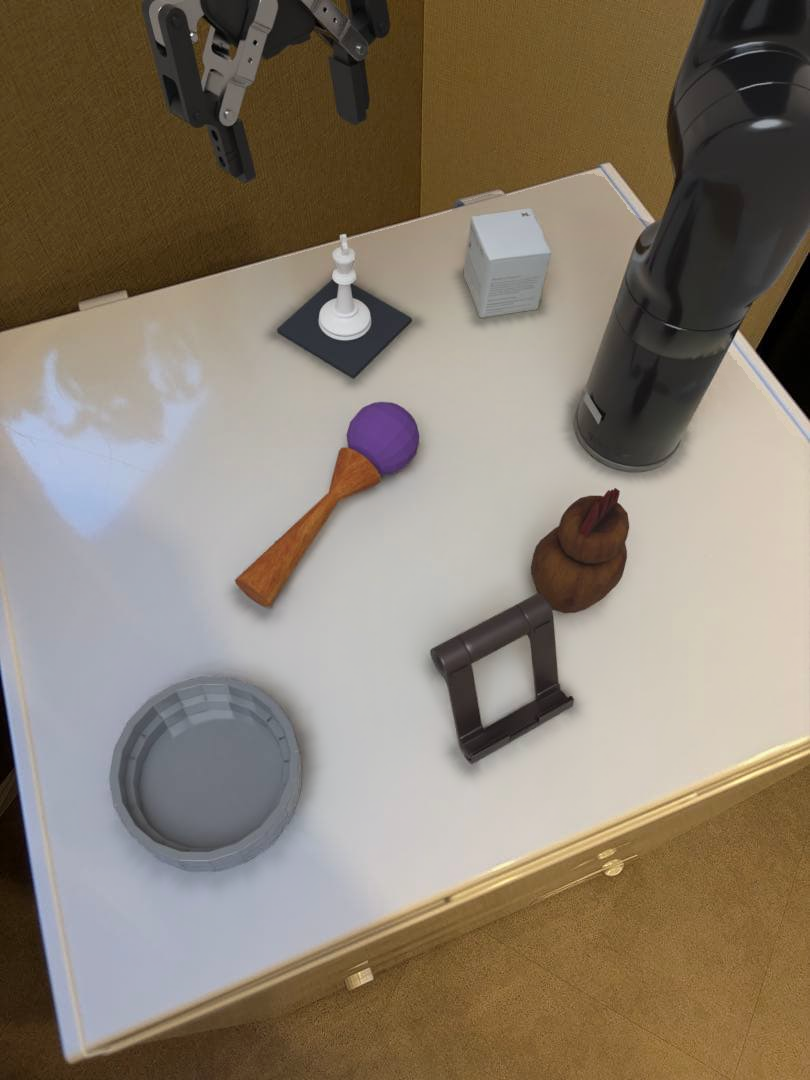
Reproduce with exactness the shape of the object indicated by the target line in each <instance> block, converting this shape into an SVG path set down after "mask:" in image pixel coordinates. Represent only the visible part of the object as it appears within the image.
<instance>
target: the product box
mask: <svg viewBox="0 0 810 1080" xmlns="http://www.w3.org/2000/svg"><path fill="white" fill-rule="evenodd" d="M469 226H470V227H469V232H468V239H467V246H466V253H465V254H466V255H465V259H464V268H463V278H464V280H465V282H466V284H467V286H468V290H469V292H470V294H471V297H472V300H473V302H474V305H475V309H476V312H477V315H478V317H479V318H480V319H484V318H485V319H486V318H492V317H497V316H503V315H508V314H510V315H511V314H514V313H521V312H529V311H535V310H538V309H539V304H540V301H541V296H542V292H543V289H544V285H545V281H546V277H547V274H548V270H549V266H550V261H551V258H552V255H553V252H552V250H551V247H550V245H549V243H548V241H547V239H546V236H545V234H544V231H543V228H542V226H541V225H540V224H539V221H538V218H537V216H536V215H535V212H534V210H533V209H532V208H531V207H529V208H522V209H516V210H515V209H514V210H509V211H508V210H507V211H501V212H494V213H486V214H478V215H473V216H471V218H470V225H469Z"/></svg>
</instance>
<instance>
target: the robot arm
mask: <svg viewBox="0 0 810 1080" xmlns="http://www.w3.org/2000/svg"><path fill="white" fill-rule="evenodd" d="M345 4H346V9H347V14H348V16H347V15H346V14H345V13H344V11H342V10H341V8H339V7H338V6H337V4H336V3H335V2H334V1H333V0H142V2H141V14H142V17H143V21H144V26H145V29H146V33H147V37H148V41H149V44H150V49H151V52H152V57H153V60H154V64H155V68H156V73H157V76H158V80H159V84H160V88H161V91H162V95H163V99H164V103H165V107H166V109H167V111H168V112H169V113H170V114H172V115H173V116H175V117H177V118H179V119H180V120H182V121H183V122H185V123H186V124H188V125H190V126H191V127H193V128H194V129H201V128H203V127H204V126H205V125H206V129H207V132H208V136H209V140H210V143H211V147H212V150H213V153H214V157H215V160H216V163H217V165H218V166H219V168H220V169H221V170H222V171H224V172H225V173H227V174H228V175H230V176H231V177H233V178H234V179H236V180H238V181H240V182H241V183H242V184H245V185H246V184H248V183H250V182H251V181H254V180H255V179H256V178H257V172H256V170H255V164H254V162H253V158H252V157H253V156H252V154H251V150H250V146H249V145H250V144H249V141H248V137H247V133H246V129H245V125H244V122H243V120H242V119H240V118H238V117H239V114H240V111H241V107H242V104H243V101H244V97H245V94H246V90H247V88H248V87H250V86H251V85H253V84H254V81H255V78H256V75H257V72H258V69H259V66H260V62H261V59H262V60H265V61H268V60H270V59H272V58H274V57H276V56H278V55H279V54H280V53H281V52H282V51H283V50H285V49H286V48H287V47H288V46H296V45H301V44H303V43H305V42H307V41H309V40H311V33H312V32H314V33H315V34H316V35H317V36H318V37H319V38H320V39H321V40H322V41H323V42H324V43H325V44H326V45H327V46H328V47H329V48H330V49H332V51H333V53H332V54H331V55H328V56H327V59H328V66H329V70H330V77H331V78H330V79H331V84H332V90H333V95H334V102H335V107H336V112H337V114H338V116H339V117H340V118H341V120H344V121H346V122H348V123H349V124H351V125H353V126H358V125H361V124H362V123H364V122H366V121H367V117H368V116H367V110H368V109H369V107H370V100H371V98H370V91H369V84H368V75H367V67H366V61H365V59H366V57H367V55H368V53H369V46H371V44H372V43H373V42H374V41H375V40H376V39H377V38H378V39H384V38H385V37H387V36H388V34H389V32H390V29H391V19H390V13H389V7H388V0H345ZM201 18H202V19H203V20H205V22H207V23H208V24H209V25H210V27H209V29H208V30H209V31H208V34H207V38H206V40H205V41H206V42H205V44H204V45H205V46H204V48H203V53H202V63H203V66H204V70H203V73H202V77H201V76H200V71H199V66H198V61H197V57H196V54H195V53H196V52H195V50H194V44H196V43H197V42H198V41H199V34H198V24H199V21H200V19H201ZM231 46H233V47H234V48H235V49H236V52H235V56H234V58H233V59H231V57H230V49H231ZM666 115H667V116H666V135H667V145H668V152H669V158H670V163H671V171H672V176H673V185H672V189H671V193H670V196H669V199H668V201H667V204H666V207H665V209H664V212H663V214H662V217H661V218H659V219H657V220H655V221H653V222H652V223H650V224H649V225H648V226H646V227H645V228H644V229H643V230H642V231H641V233H640V234H639V236H638V237H637V239H636V241H635V243H634V245H633V248H632V250H631V253H630V256H629V258H628V261H627V265H626V268H625V271H624V274H623V277H622V280H621V282H620V286H619V289H618V291H617V295H616V298H615V301H614V304H613V307H612V310H611V313H610V316H609V317H608V321H607V324H606V327H605V330H604V333H603V336H602V337H601V338H602V339H601V342H600V345H599V346H598V350H597V354H596V356H595V359H594V362H593V365H592V368H591V370H590V373H589V377H588V379H587V382H586V384H585V388H584V391H583V393H582V395H581V399H580V400H579V403H578V405H577V408H576V409H575V413H574V418H573V426H574V432H575V435H576V438H577V440H578V442H579V443H580V445H581V446H582V448H583V449H584V450H585V451H586V452H587V453H588V454H589V455H590V456H591V457H592V458H594V459H595V460H596V461H598V462H599V463H601V464H603V465H605V466H607V467H610V468H612V469H615V470H619V471H622V472H623V471H624V472H632V473H635V472H636V473H638V472H640V473H641V472H648V471H651V470H654V469H657V468H659V467H661V466H663V465H665V464H666V463H668V462H669V461H670V460H671V459H672V458H673V456H674V455H675V453H676V452H677V450H678V448H679V447H680V444H681V440H682V438H683V436H684V434H685V432H686V430H687V429H688V426H689V425H690V423H691V421H692V419H693V417H694V415H695V414H696V412H697V410H698V408H699V407H700V404H701V402H702V400H703V398H704V396H705V394H706V393H707V391H708V389H709V387H710V386H711V383H712V382H713V379H714V377H715V376H716V374H717V372H718V370H719V368H720V366H721V364H722V362H723V361H724V358H725V356H726V355H727V352H728V351H729V349H730V346H731V345H732V343H733V341H734V339H735V337H736V335H737V333H738V331H739V329H740V327H741V325H742V324H743V322H744V320H745V318H746V316H747V314H748V312H749V311H750V309H751V308H752V305H753V304H754V302H755V301H756V300H757V299H759V298H760V297H762V296H763V295H764V294H765V293H767V291H769V290H770V289H771V288H772V287H773V286H774V285H775V284H776V282H777V281H778V280H779V279H780V277H781V276H782V274H783V273H784V272H785V270H786V268H787V266H788V265H789V263H790V262H791V260H792V258H793V257H794V255H795V254H796V252H797V251H798V249H799V247H800V246H801V244H802V242H803V241H804V239H805V237H806V236H807V234H808V233H809V230H810V0H703V3H702V6H701V10H700V13H699V15H698V17H697V20H696V23H695V26H694V29H693V31H692V34H691V36H690V40H689V43H688V46H687V48H686V51H685V53H684V56H683V59H682V62H681V64H680V67H679V69H678V73H677V76H676V77H675V82H674V84H673V87H672V91H671V95H670V98H669V101H668V108H667V114H666Z"/></svg>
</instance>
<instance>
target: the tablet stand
mask: <svg viewBox="0 0 810 1080" xmlns="http://www.w3.org/2000/svg"><path fill="white" fill-rule="evenodd" d="M525 636H527V639H528V640H529V647H530V655H531V656H530V657H531V666H532V667H531V668H532V675H533V686H534V695H535V699H534V700H532V701H531V702H529V703H526V704H525V705H523V706H522V707H520V708H518V709H516V710H515V711H513V712H511V713H509V714H507V715H505V716H504V717H501V718H500V719H499V720H497V721H495V722H493V723H492V724H490V725H488V726H486V727H485V728H484V725H483V724H482V723H483V722H482V719H481V718H482V717H481V711H480V707H479V700H478V699H479V698H478V693H477V687H476V681H475V675H474V669H473V664H475V663H476V662H479V661H481V660H482V659H484V658H486V657H487V656H489V655H491V654H493V653H495V652H497V651H498V650H501V649H502V648H504V647H506V646H508V645H510V644H511V643H515V642H516V641H517V640H519V639H521V638H523V637H525ZM556 644H557V643H556V632H555V621H554V612H553V609H552V608H551V606H550V605H549V603H548V601H547V600H546V599H545V598H544V597H543V596H542V595H541V594H538V593H536V594H533V595H532V596H531V595H530V596H529V597H528V598H526V599H524V600H522V601H520V602H518V603H516V604H514V605H512V606H511V607H508V608H506V609H505V610H502V611H501V612H499V613H497V614H495V615H493V616H491V617H489V618H487V619H485V620H483V621H482V622H480V623H478V624H476V625H474V626H472V627H471V628H468V629H467V630H465V631H463V632H461V633H459V634H457V635H455V636H453V637H451V638H449V639H448V640H447V639H446V641H444V642H441V643H439V644H438V645H436V646H434V647H432V648H430V650H429V653H430V657H431V661H432V663H433V665H434V667H435V668H436V670H437V672H438V673H439V674H440V676H441V677H442V678H443V679H444V681H445V683H446V687H447V691H448V697H449V699H450V701H449V702H450V704H451V710H452V711H451V712H452V716H453V720H454V725H455V731H456V737H457V741H458V746H459V749H460V751H461V752H462V754H463V756H464V758H465V759H466V761H467V762H468V763H469V764H471V765H474V764H475V763H477V762H479V761H480V760H482V759H485V758H486V757H488V756H490V755H491V754H493V753H494V752H497V751H498V750H500V749H501V748H503V747H505V746H507V745H509V744H510V743H512V742H514V741H515V740H517V739H519V738H521V737H523V736H524V735H526V734H527V733H529V732H531V731H533V730H534V729H536V728H538V727H540V726H541V725H543V724H545V723H546V722H548V721H551V720H552V719H554V718H556V717H557V716H559V715H561V714H563V713H564V712H566V711H567V710H569V709H571V708H573V705H574V701H575V698H574V697H573V696H572V695H569V696H567V695H566V693H564V691H563V690H561V685H560V681H559V673H558V672H559V671H558V659H557V645H556Z"/></svg>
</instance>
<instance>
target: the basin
mask: <svg viewBox="0 0 810 1080" xmlns="http://www.w3.org/2000/svg"><path fill="white" fill-rule="evenodd" d="M112 751H113V752H112V758H111V764H110V769H109V775H108V777H109V778H108V780H109V786H110V792H111V793H110V794H111V800H112V805H113V808H114V810H115V812H116V814H117V815H118V818H119V820H120V821H121V823H122V824H123V826H124V828H125V830H126V832H127V833H128V834H129V835H130V836H131V837H132V838H133V839H134V840H135V841H136V842H137V843H138V844H139V845H140V846H142V847H143V848H144V849H145V850H146V851H148V852H149V854H151V855H152V856H154V857H155V858H156V859H157V860H158V861H160V862H161V863H164V864H166V865H169V866H172V867H175V868H178V869H180V870H183V871H185V872H221V871H224V870H227V869H231V868H233V867H236V866H239V865H242V864H245V863H247V862H249V861H250V860H252V859H253V858H254V857H256V856H258V855H259V854H261V852H263V851H265V850H266V849H268V848H269V847H270V846H271V845H272V844H273V843H274V842H275V841H276V839H277V838H278V837H279V836H280V834H281V833H282V832H283V830H284V829H285V828H286V827H287V825H288V824H289V823H290V821H291V819H292V816H293V815H294V811H295V809H296V806H297V804H298V801H299V798H300V796H301V788H302V773H303V772H302V771H303V765H302V758H301V754H300V749H299V745H298V742H297V738H296V734H295V730H294V727H293V724H292V723H291V721H290V719H289V718H288V717H287V715H286V713H285V712H284V710H283V709H282V707H281V705H280V704H279V703H278V702H277V701H276V700H275V699H273V698H272V697H271V696H270V695H268V694H267V693H266V692H264V691H263V690H261V689H260V688H259V687H258V686H256V685H253V684H250V683H248V682H244V681H242V680H239V679H236V678H233V677H229V676H228V677H227V676H200V677H195V678H192V679H188V680H184V681H181V682H178V683H174V684H171V685H170V686H168V687H166V688H165V689H163V690H162V691H159V692H158V693H157V694H155V695H154V696H153V695H152V697H150V698H148V700H147V701H145V702H144V703H143V705H142V706H141V707H139V709H138V710H136V712H135V713H134V714H133V715H132V716H131V717H130V718H129V719H128V721H127V722H126V724H125V725H124V728H123V730H122V732H121V733H120V736H119V738H118V739H117V742H116V743H115V746H114V748H113V750H112Z"/></svg>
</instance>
